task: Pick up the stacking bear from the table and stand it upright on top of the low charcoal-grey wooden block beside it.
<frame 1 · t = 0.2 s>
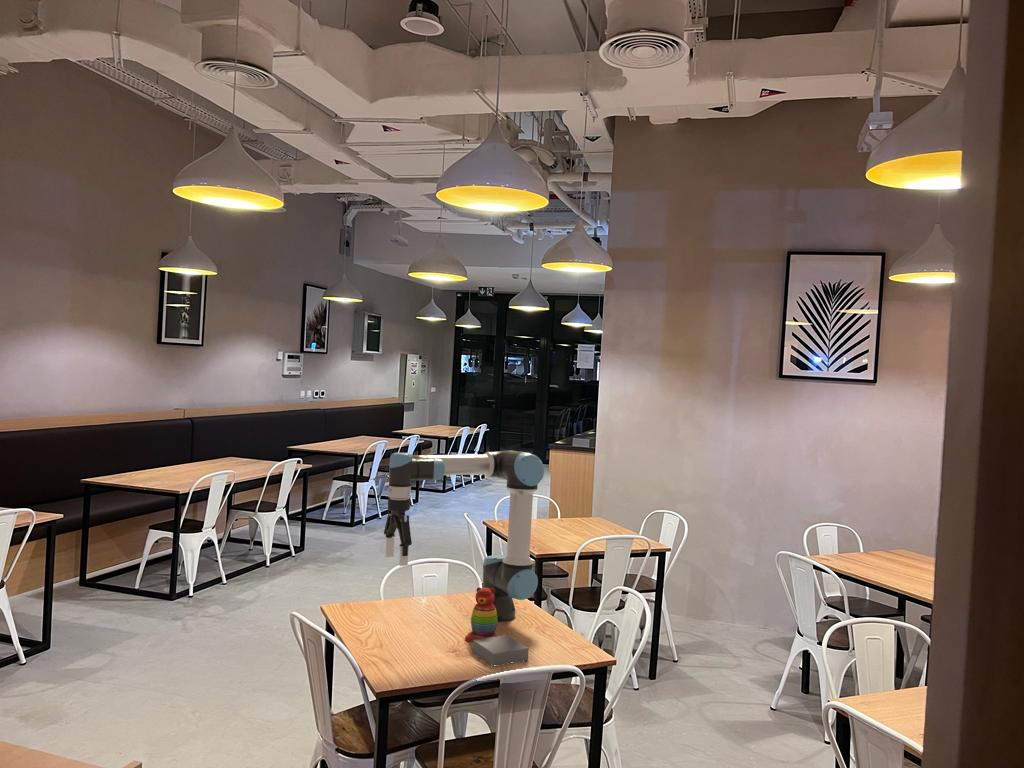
hand: (396, 561, 245), 28 cm above the table, tool pointing down, fingers open, 13 cm apart
stacking bear: (482, 639, 253), on the table
grey block: (500, 656, 237), on the table
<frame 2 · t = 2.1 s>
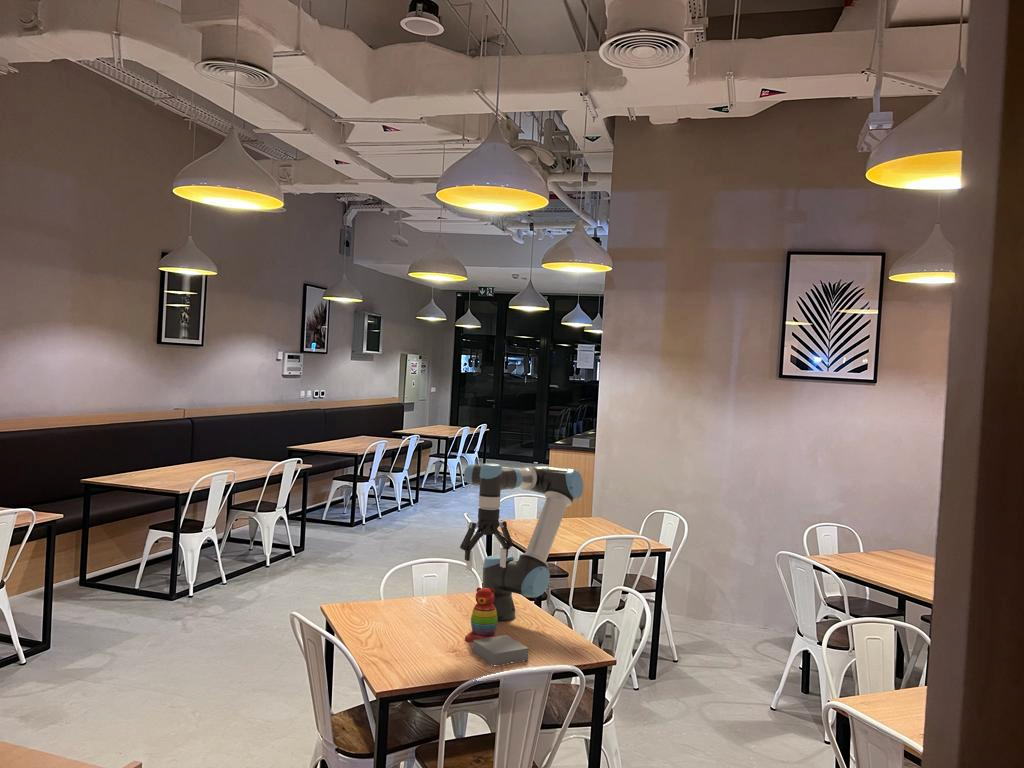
hand: (486, 568, 254), 25 cm above the table, tool pointing down, fingers open, 13 cm apart
nothing on the table moved.
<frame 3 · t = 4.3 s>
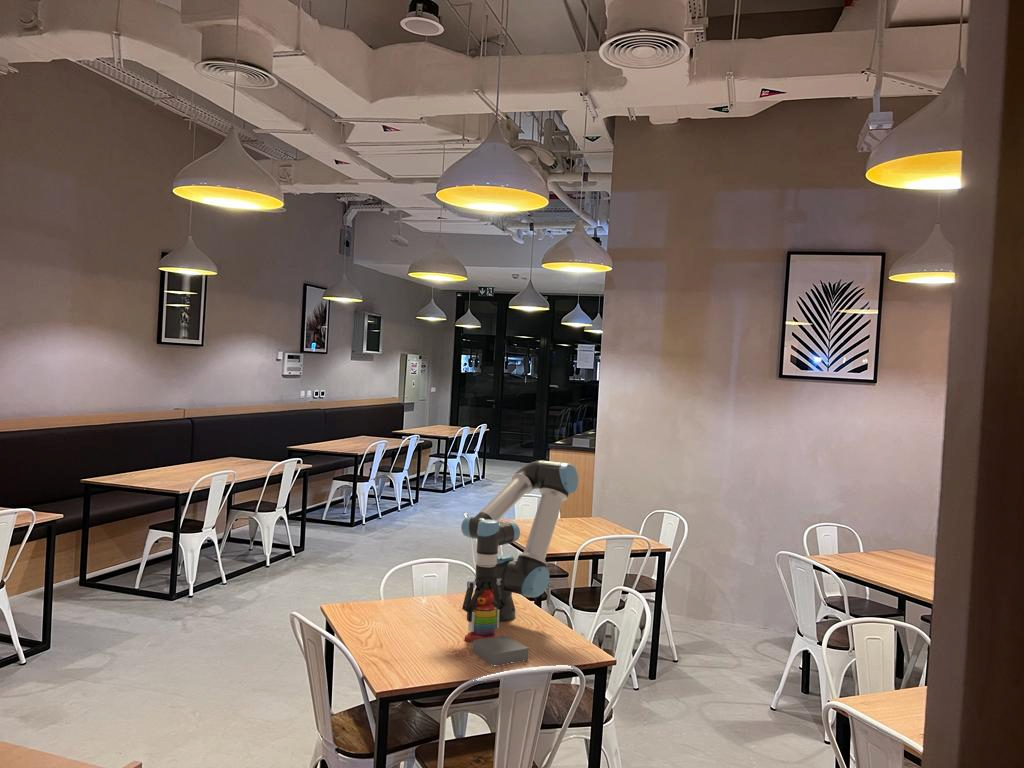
hand: (483, 628, 254), 4 cm above the table, tool pointing down, fingers closed on stacking bear, 9 cm apart
stacking bear: (482, 639, 253), on the table, touching gripper
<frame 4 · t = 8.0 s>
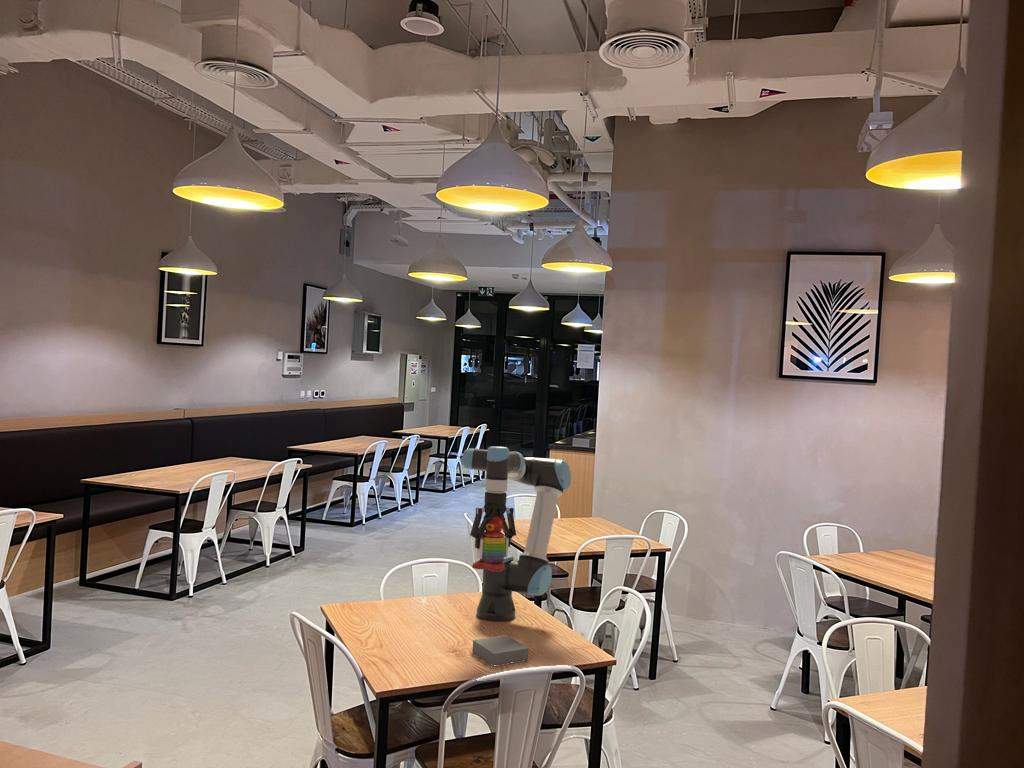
hand: (492, 557, 247), 30 cm above the table, tool pointing down, fingers closed on stacking bear, 9 cm apart
stacking bear: (490, 568, 247), point 26 cm above the table, touching gripper
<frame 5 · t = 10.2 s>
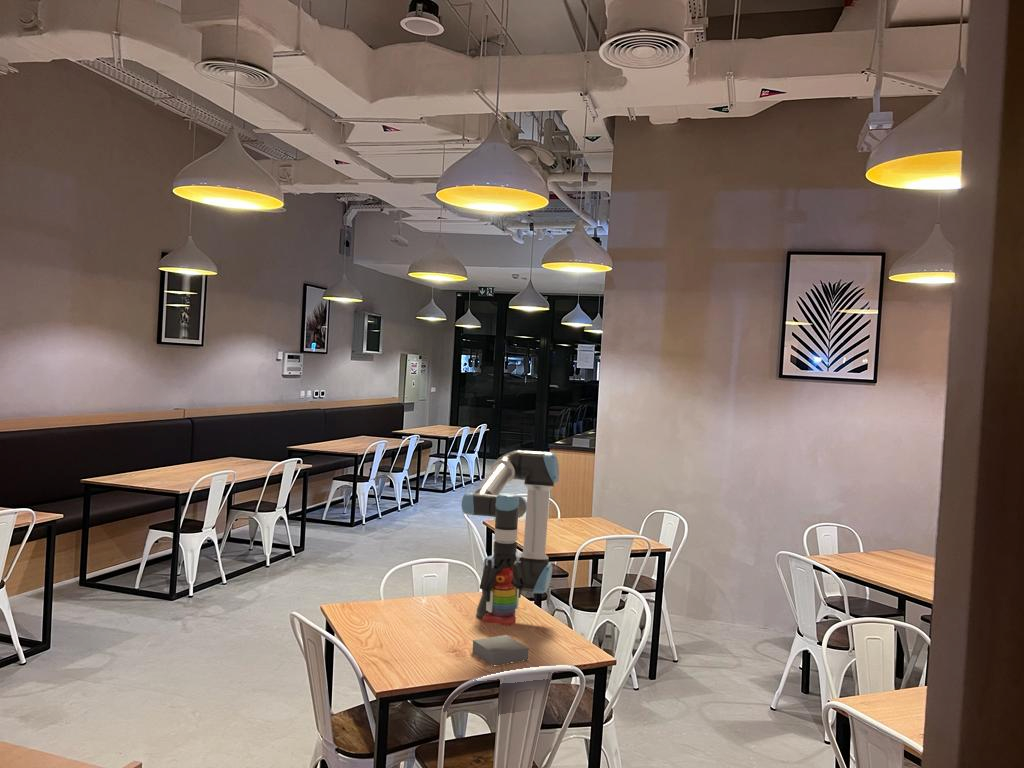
hand: (502, 609, 238), 15 cm above the table, tool pointing down, fingers closed on stacking bear, 9 cm apart
stacking bear: (500, 620, 237), point 12 cm above the table, touching gripper
when the fingers open (9 cm above the table, at t = 12.0 s): stacking bear drops 1 cm, resting on grey block.
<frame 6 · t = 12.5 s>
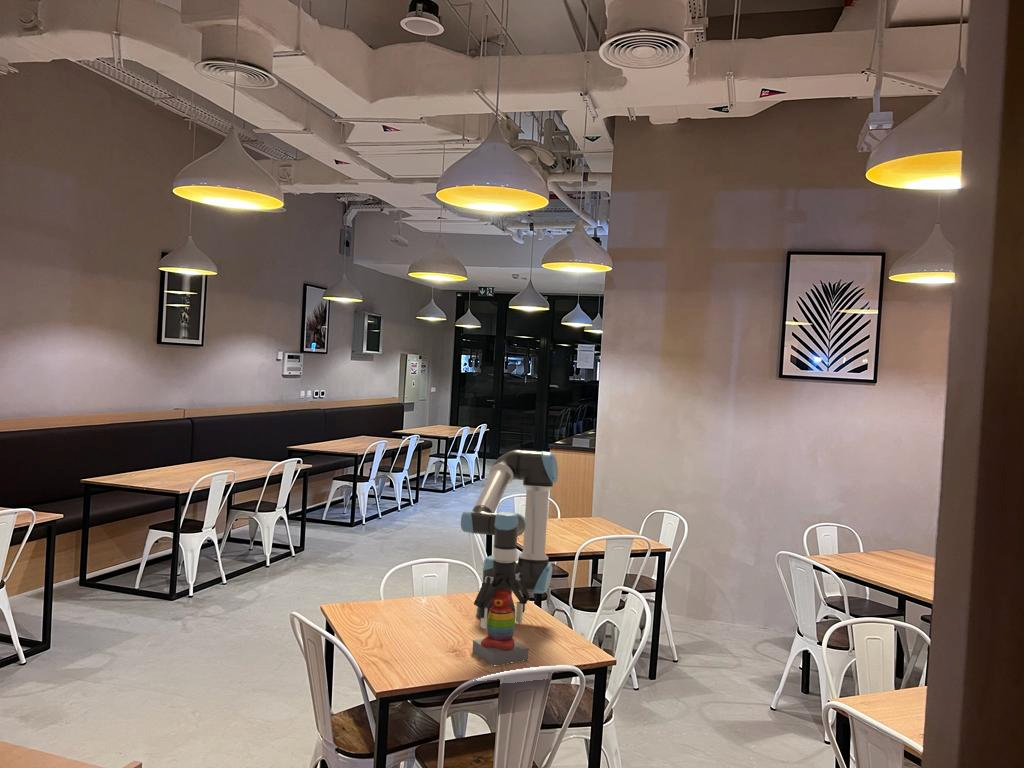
hand: (501, 625, 238), 10 cm above the table, tool pointing down, fingers open, 13 cm apart
stacking bear: (499, 644, 237), point 4 cm above the table, touching grey block
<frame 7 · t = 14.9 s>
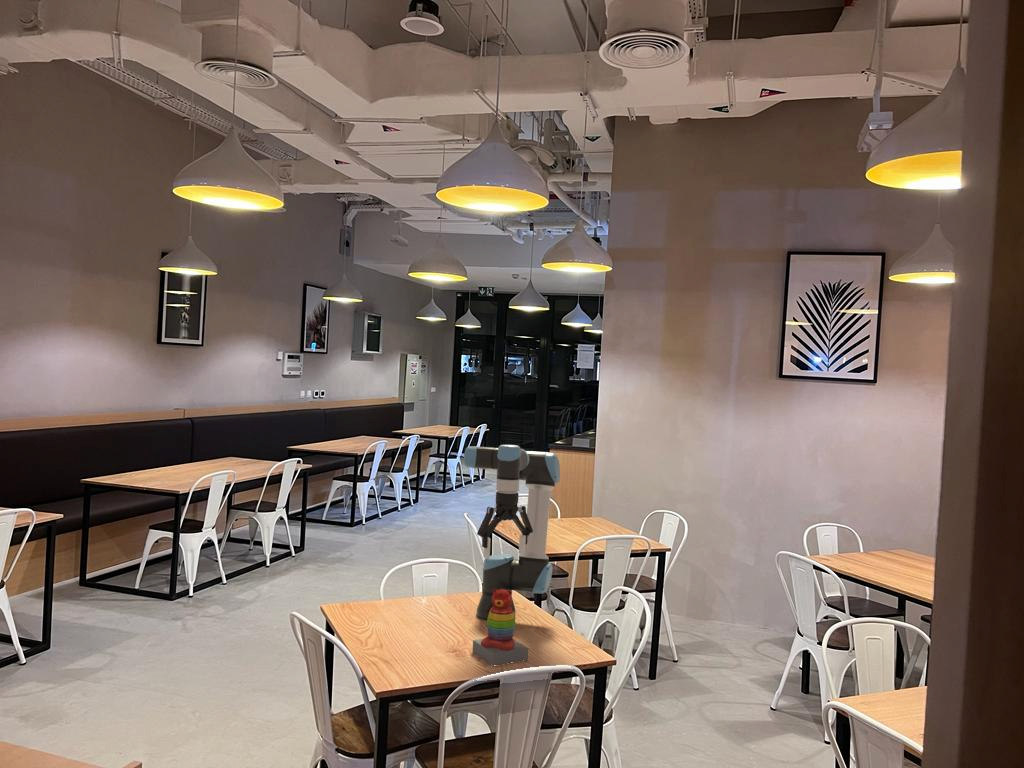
hand: (504, 556, 239), 33 cm above the table, tool pointing down, fingers open, 13 cm apart
nothing on the table moved.
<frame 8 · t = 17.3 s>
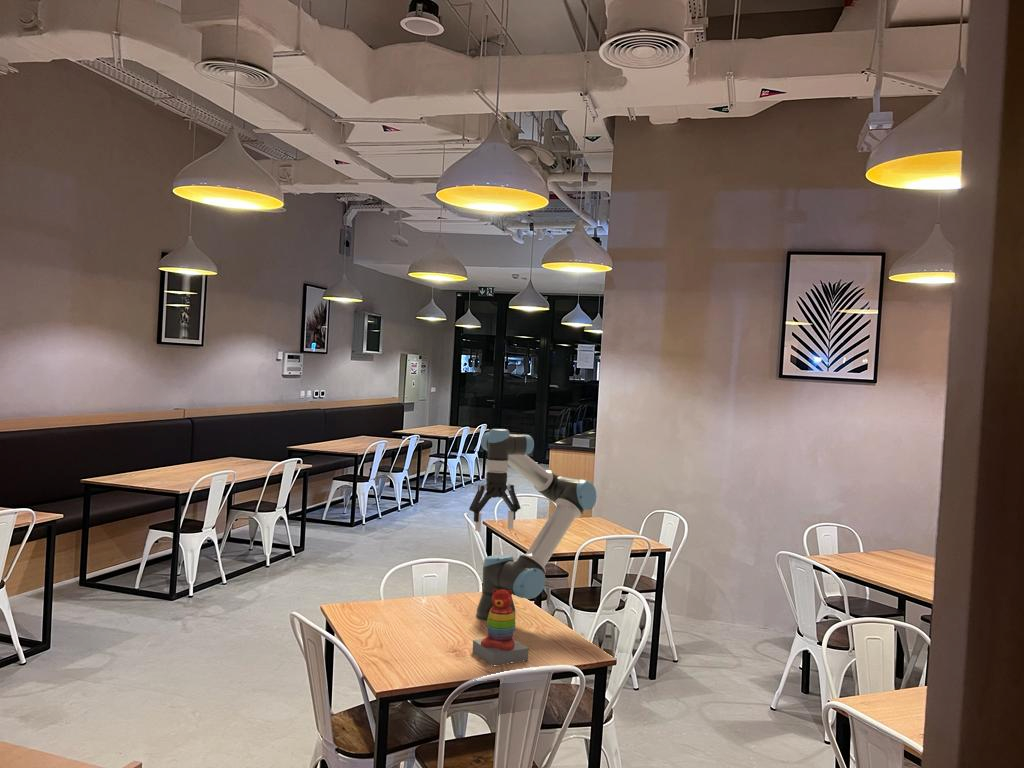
hand: (494, 530, 262), 37 cm above the table, tool pointing down, fingers open, 13 cm apart
nothing on the table moved.
at the end: stacking bear inside the target area on the grey block (0.3 cm from its centre), point 3.8 cm above the grey block's base; stacking bear tilted 0°; stacking bear touching grey block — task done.
